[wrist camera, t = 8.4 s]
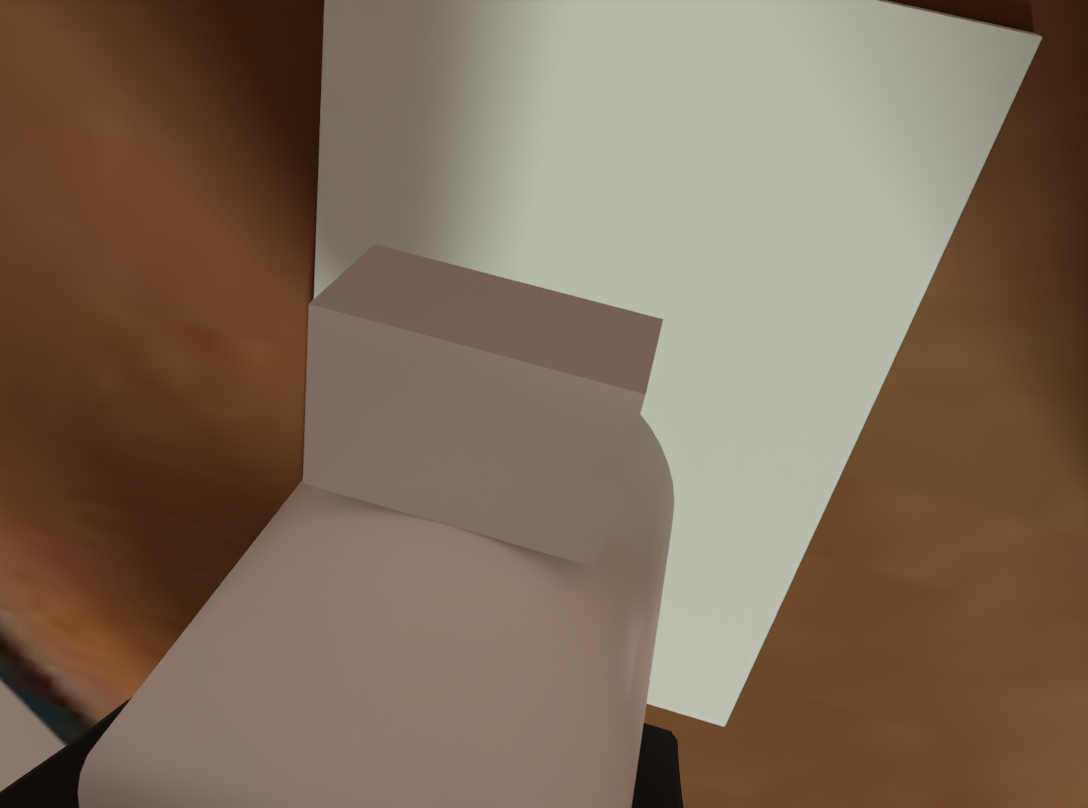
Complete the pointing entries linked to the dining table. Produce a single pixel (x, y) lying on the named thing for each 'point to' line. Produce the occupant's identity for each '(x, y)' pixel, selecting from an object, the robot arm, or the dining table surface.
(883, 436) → the dining table surface
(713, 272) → the mat
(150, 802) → the grey rounded piece
